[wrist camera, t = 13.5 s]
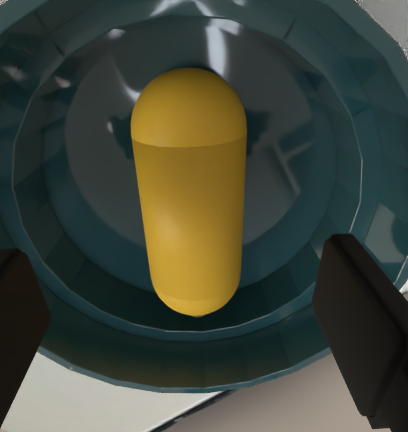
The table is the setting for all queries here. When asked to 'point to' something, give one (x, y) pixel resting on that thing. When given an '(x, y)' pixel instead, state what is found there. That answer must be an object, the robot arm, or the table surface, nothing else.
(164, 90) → the squash
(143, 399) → the table surface
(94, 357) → the teal shallow dish
